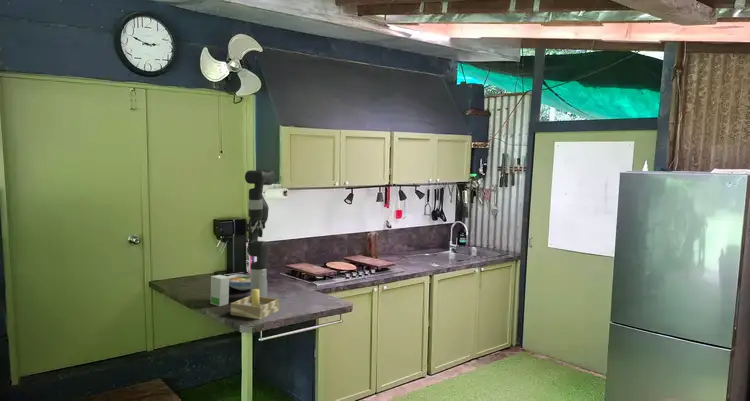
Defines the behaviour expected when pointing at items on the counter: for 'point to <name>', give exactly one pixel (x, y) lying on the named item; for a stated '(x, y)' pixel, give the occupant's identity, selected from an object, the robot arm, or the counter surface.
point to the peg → (255, 297)
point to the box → (255, 307)
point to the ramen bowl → (240, 281)
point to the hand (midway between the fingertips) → (255, 238)
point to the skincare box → (219, 290)
